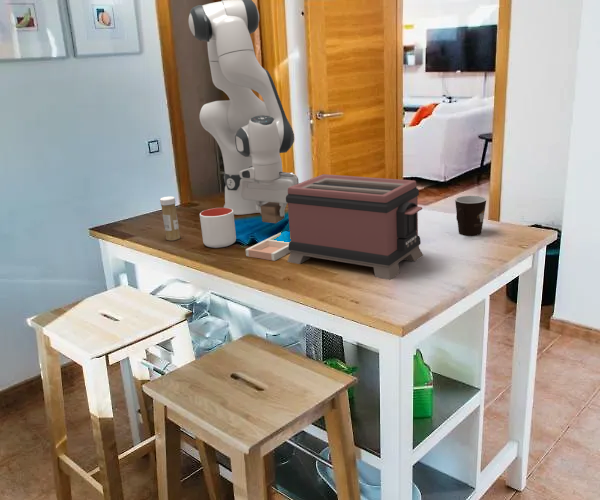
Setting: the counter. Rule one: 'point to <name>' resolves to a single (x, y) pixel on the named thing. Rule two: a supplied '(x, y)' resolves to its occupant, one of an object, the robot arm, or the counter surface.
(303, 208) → the toaster
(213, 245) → the cup
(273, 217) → the walnut block
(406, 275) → the counter surface
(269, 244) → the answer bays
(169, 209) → the sprinkles bottle
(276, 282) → the counter surface
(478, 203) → the coffee mug
